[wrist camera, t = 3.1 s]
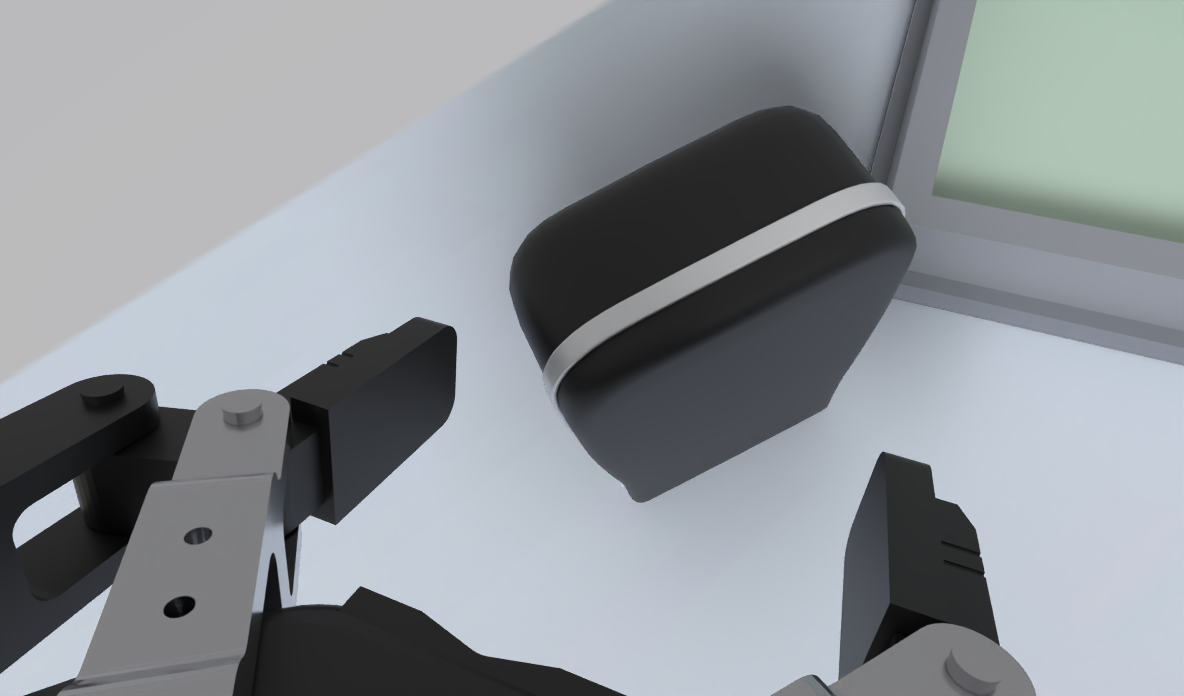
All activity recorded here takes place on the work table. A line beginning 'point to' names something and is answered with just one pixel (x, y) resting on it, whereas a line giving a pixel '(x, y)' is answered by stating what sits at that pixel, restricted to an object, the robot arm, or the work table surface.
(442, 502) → the work table surface
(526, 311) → the battery charger
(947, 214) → the tray
